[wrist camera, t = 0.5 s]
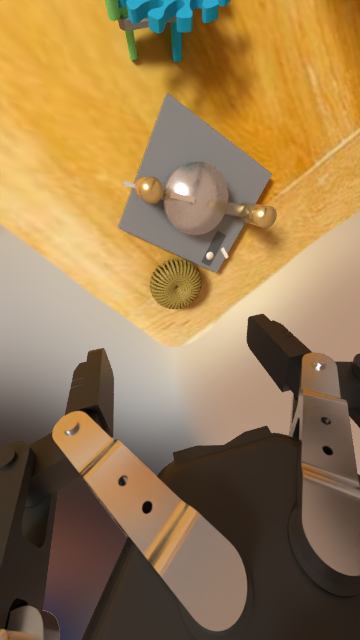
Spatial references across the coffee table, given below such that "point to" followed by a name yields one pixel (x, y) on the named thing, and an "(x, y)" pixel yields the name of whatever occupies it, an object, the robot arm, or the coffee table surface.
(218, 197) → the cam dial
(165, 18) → the gear
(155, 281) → the sculpture
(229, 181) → the board
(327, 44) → the coffee table surface
